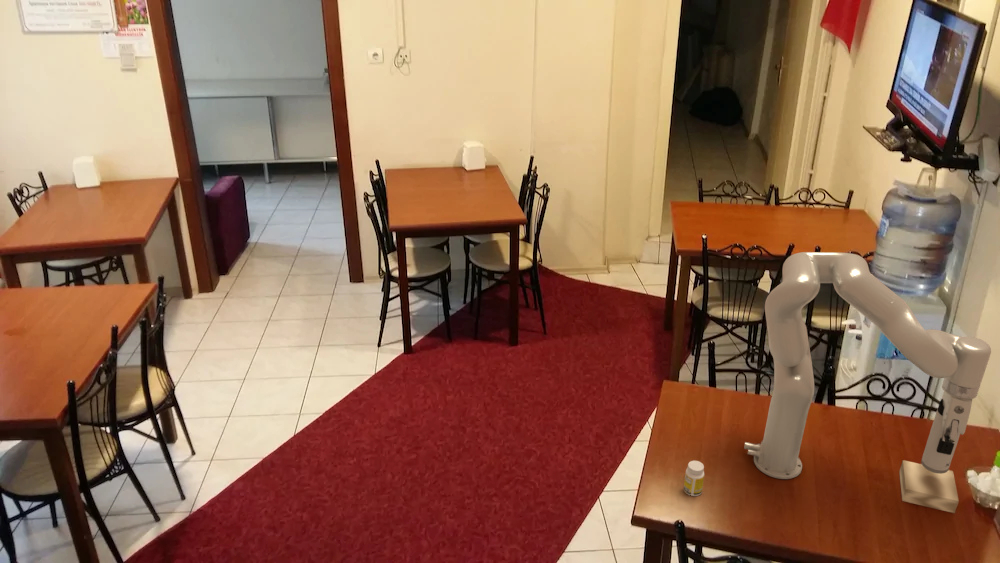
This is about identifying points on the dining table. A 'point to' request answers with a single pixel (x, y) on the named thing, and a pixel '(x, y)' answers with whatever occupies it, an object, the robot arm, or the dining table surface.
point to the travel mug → (931, 456)
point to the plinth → (928, 487)
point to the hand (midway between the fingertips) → (942, 444)
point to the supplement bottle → (694, 478)
